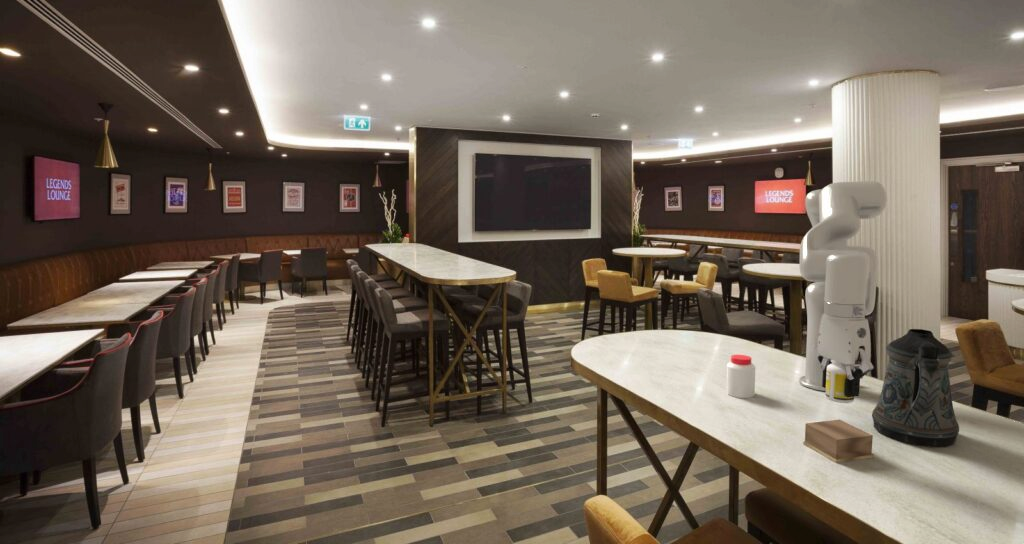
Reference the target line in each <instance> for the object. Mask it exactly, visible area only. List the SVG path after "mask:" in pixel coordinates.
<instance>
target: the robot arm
mask: <svg viewBox="0 0 1024 544" xmlns="http://www.w3.org/2000/svg"><path fill="white" fill-rule="evenodd" d="M887 198H888V197H887V191H886V189H885V187H884V185H883V184H882V183H881V182H880V181H879V182H878V181H874V180H864V181H840V182H839V181H838V182H833V183H829V184H828V185H826V186H824V187H823V188H821V189H815V190H812V191H810V192H808V193H807V194H806V196H805V201H804V204H805V211H806V214H807V217H808V219H809V222H810V224H811V228H810V229H809V230H808V231H807V232H806V233H805V235H804V236H803V238H802V239H801V243H800V246H799V271H800V272H799V273H800V276H801V277H802V278H803V279H804V280H805V281H808V282H812V283H810V284H809V285H808V286H807V287H806V289H805V296H804V299H805V306H806V315H807V316H806V317H807V324H806V325H807V326H806V327H807V328H806V329H807V331H806V352H805V375H802V376H800V377H799V381H798V382H799V384H800V385H802V386H804V387H806V388H807V389H812V390H815V391H820V392H821V391H822V392H826V371H827V366H828V365H829V364H832V362H831V360H835V361H837V362H839V363H841V364H844V365H845V367H846V371H847V376H848V378H845V390H844V395H845V396H846V397H854V398H855V397H859V396H860V387H861V386H860V385H861V379H863V378H864V377H865V376H866V375H867V374H868V373H869V372H872V370H874V368H875V367H874V365H873V364H872V362H871V359H872V353H871V352H872V346H871V345H872V343H871V330H870V326H869V325H870V324H869V319H867V318H865V316H869V315H871V313H873V311H874V308H875V304H876V296H877V295H876V292H877V278H878V256H877V253H876V251H875V249H873V248H872V247H870V246H865V245H849V244H848V240H850V239H852V238H853V237H854V236H855V237H856V235H857V234H858V233H859V231H860V229H861V220H869V219H870V220H871V219H875V218H877V217H878V216H880V215H881V214H882V213H883V212H884V210H885V209H886V205H887V202H888V201H887V200H888V199H887ZM852 367H854V369H855V371H854V372H853V369H852Z"/></svg>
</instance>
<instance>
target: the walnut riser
mask: <svg viewBox="0 0 1024 544" xmlns="http://www.w3.org/2000/svg"><path fill="white" fill-rule="evenodd" d="M804 427H805V428H804V440H803V442H802V443H803V445H805V446H806V447H807V448H809V449H811V450H813V451H815V452H816V453H818V454H819V455H822V456H823V457H825V458H827V459H828V460H830V461H832V462H834V464H837V463H842V462H843V463H844V462H850V461H851V462H852V461H859V460H865V459H867V460H868V459H873V458H874V454H872V453H873V440H874V438H873V437H874V435H873V434H871V433H869V432H866V431H865V430H862V429H860V428H859V427H856V426H854V425H853V424H849V423H848V422H846V421H843V420H841V419H833V420H825V421H816V422H806V423H805V426H804Z"/></svg>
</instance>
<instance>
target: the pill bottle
mask: <svg viewBox="0 0 1024 544" xmlns="http://www.w3.org/2000/svg"><path fill="white" fill-rule="evenodd" d="M725 372H726V378H725V384H726V385H725V393H726V394H727V395H728V396H730V397H733V398H738V399H751V398H753V397H755V393H756V365H754V363H752V357H751V356H749V355H745V354H732V355H730V361H728V362H727V364H726V371H725Z"/></svg>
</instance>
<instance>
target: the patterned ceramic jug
mask: <svg viewBox="0 0 1024 544" xmlns="http://www.w3.org/2000/svg"><path fill="white" fill-rule="evenodd" d="M885 350H886V355H887V356H888V363H887V366H886V371H885V373H884V374H885V375H884V379H883V384H882V388H881V392H880V395H879V398H878V401H877V403H876V406H875V407H874V409H873V410H872V413H871V417H872V420H873V421H872V422H873V427H874V429H875V430H876V431H877V433H879V434H880V435H882V436H884V437H886V438H888V439H891V440H893V441H896V442H899V443H904V444H907V445H908V444H909V445H913V446H918V447H924V448H925V447H926V448H947V447H951V446H954V445H955V443H956V441H957V438H958V436H959V433H960V424H959V422H958V421H957V418H956V415H955V410H954V404H953V397H952V390H951V382H950V381H951V380H950V379H951V378H950V373H949V364H950V362H951V361H952V358H953V352H952V351H951V350H950V348H948V347H947V346H946V345H945V344H944V343H942V342H941V341H940V340H939V339H937V338H936V337H935V336H934V333H933V332H932V331H931V330H928V329H923V328H922V329H921V328H911V329H910V328H909V329H908V331H907V333H905V334H904V335H902V336H900V337H898V338H896V339H894V340H893V341H890V342H889V343H888V344H887V345H886V347H885Z"/></svg>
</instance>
